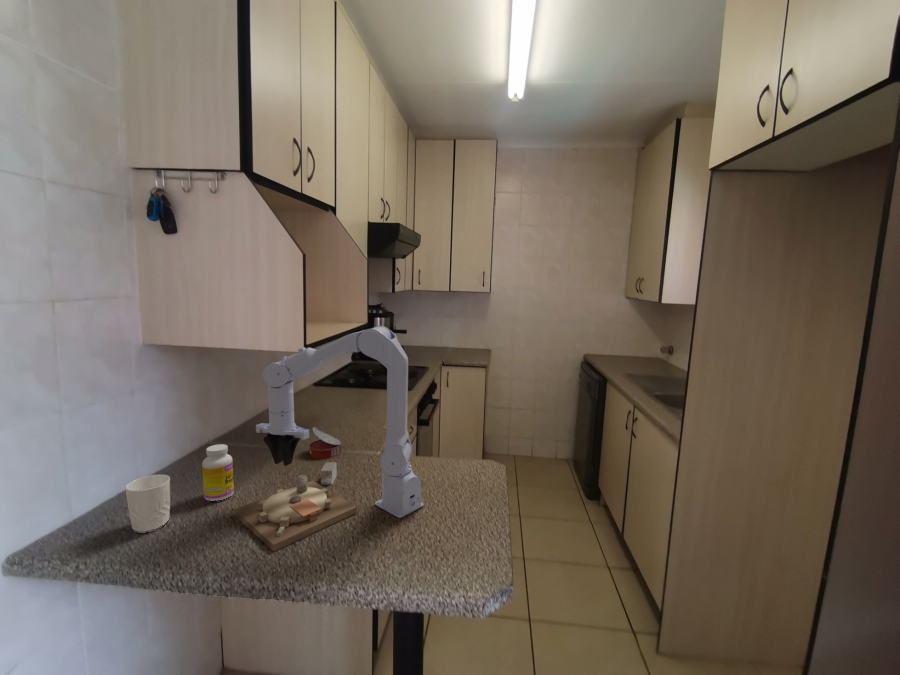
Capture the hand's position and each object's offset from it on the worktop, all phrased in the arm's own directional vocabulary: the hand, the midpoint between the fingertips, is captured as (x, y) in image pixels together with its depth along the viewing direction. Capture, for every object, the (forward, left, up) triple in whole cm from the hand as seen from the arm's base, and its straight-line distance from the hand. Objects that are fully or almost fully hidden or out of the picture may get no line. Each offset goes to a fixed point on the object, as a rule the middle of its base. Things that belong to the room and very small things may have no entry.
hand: (283, 463), depth 102 cm
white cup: (+11, +25, -10) cm, 29 cm away
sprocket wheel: (-8, +1, -8) cm, 12 cm away
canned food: (+20, -24, -10) cm, 32 cm away
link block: (+2, -14, -10) cm, 17 cm away
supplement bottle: (+14, +10, -10) cm, 20 cm away
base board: (-8, +1, -9) cm, 13 cm away
